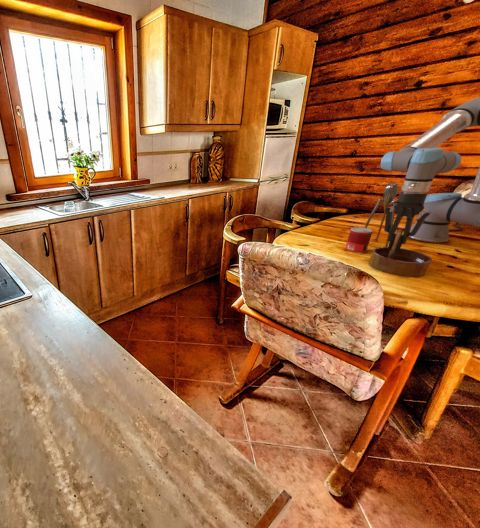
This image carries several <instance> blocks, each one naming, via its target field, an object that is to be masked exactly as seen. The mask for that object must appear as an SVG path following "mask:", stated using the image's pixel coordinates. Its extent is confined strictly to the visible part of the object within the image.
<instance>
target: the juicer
mask: <svg viewBox="0 0 480 528" xmlns="http://www.w3.org/2000/svg"><path fill="white" fill-rule="evenodd" d="M398 192H399V185H398V183H396V182H391V183H388V184H387V185H386V186H385V187H384V189H383V194H382V198H379V199H378V201H377V202H376V204H375V207H374V208H373V210H372V211H371V213H370V214H369V217H368V219H367V220H366V223H365V225H364V227H363V228H368V226H369V224H370V222H371V220H372V218H373V216H374V214H375V213H376V211H377V209H378V208H379V206H380V205H381V204H382V205H383V211H384V212H383V215H382V218H381V221H380V225H379V227H378V231H377V235H376V238H375V241H376V242H378V240H379V237H380V234H381V231H382V229H383V225H384V223H385V220H386V211H385V208H387V207H390V205H391V207H392V206H394V205H395V204H396V199H395V197H396V196H397V194H398ZM395 213H396V211H395V209H394V211H393V212H392V221H391V228H392V226H393V224H394V221H395V215H396V214H395ZM391 228H390V229H391ZM387 233H388V232H387ZM388 236H389V233H388V234H387V237H386V242H385V246H384V247H388V246H389V243H390V242H389V241H387V239H388Z"/></svg>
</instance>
